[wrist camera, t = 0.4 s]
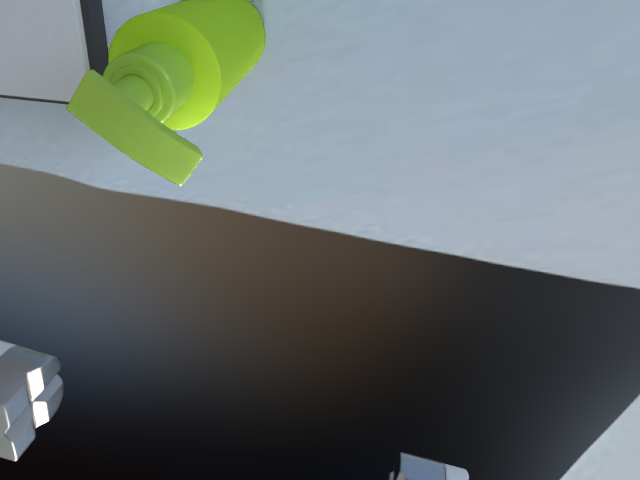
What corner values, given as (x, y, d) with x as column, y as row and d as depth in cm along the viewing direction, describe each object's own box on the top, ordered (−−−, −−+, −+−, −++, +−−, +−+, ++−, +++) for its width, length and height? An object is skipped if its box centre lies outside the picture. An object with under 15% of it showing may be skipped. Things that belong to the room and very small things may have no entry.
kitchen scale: (-100, -112, 34) (-138, -116, 32) (89, -94, 34) (66, -97, 31) (-44, 84, 41) (-72, 93, 38) (114, 100, 40) (97, 111, 38)
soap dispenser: (246, 100, 40) (154, 222, 22) (171, 39, 38) (7, 122, 20) (292, 39, 37) (227, 124, 20) (214, -30, 35) (67, -1, 18)
